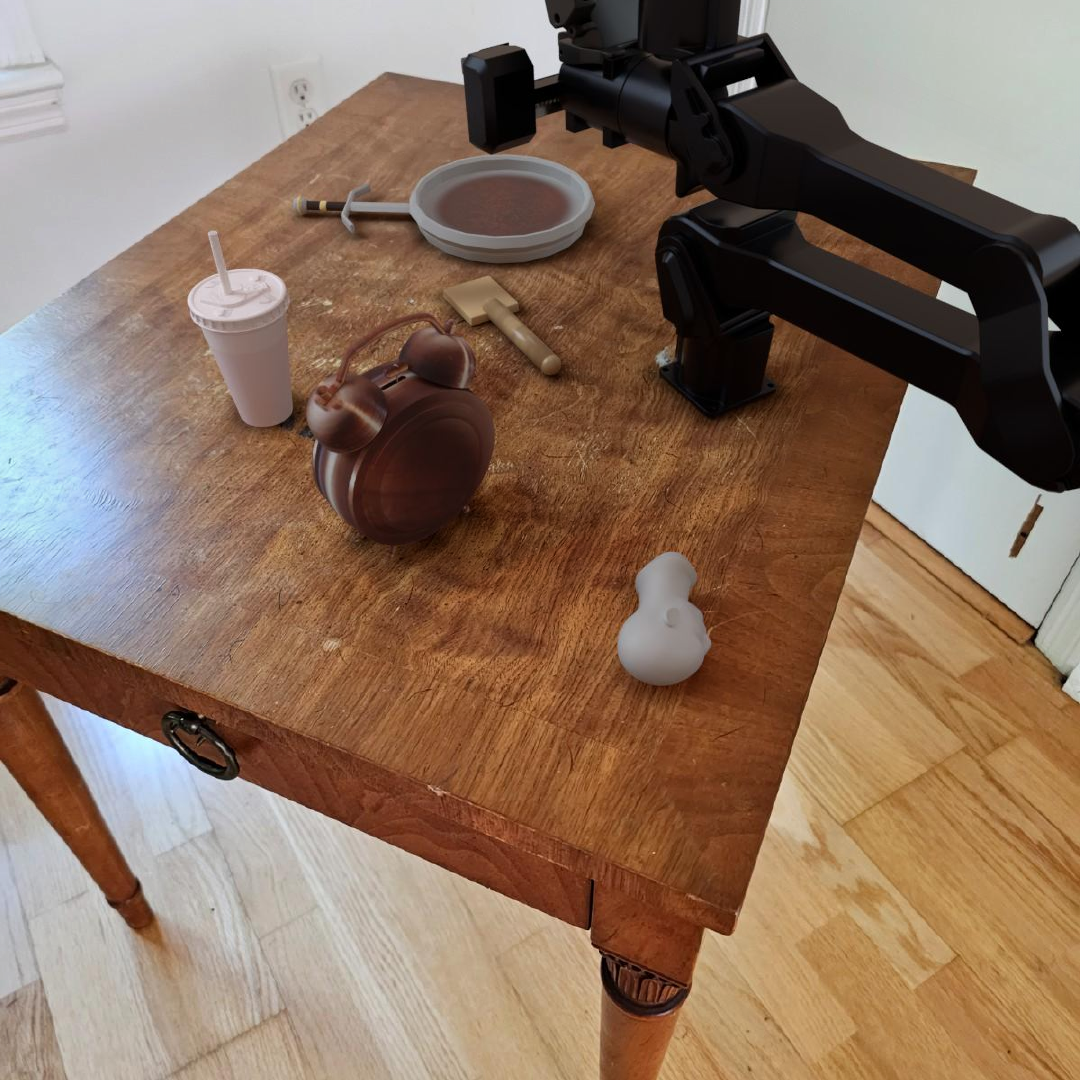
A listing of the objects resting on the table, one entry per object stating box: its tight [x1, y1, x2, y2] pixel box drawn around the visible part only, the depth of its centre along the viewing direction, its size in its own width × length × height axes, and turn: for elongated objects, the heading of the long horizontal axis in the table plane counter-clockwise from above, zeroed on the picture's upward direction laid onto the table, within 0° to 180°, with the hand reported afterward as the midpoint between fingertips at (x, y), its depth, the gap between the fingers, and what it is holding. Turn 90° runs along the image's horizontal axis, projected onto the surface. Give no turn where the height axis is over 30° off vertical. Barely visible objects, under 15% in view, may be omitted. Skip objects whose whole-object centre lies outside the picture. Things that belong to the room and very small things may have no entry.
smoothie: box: [187, 230, 294, 428], centre depth 64 cm, size 6×6×14 cm
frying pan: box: [292, 153, 596, 264], centre depth 88 cm, size 17×3×28 cm
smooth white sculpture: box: [616, 551, 712, 687], centre depth 53 cm, size 4×8×5 cm
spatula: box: [442, 275, 562, 376], centre depth 76 cm, size 14×4×2 cm, turn 31°
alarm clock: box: [305, 312, 496, 559], centre depth 56 cm, size 11×5×15 cm, turn 133°
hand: (512, 51), depth 74 cm, fingers open, 9 cm apart
